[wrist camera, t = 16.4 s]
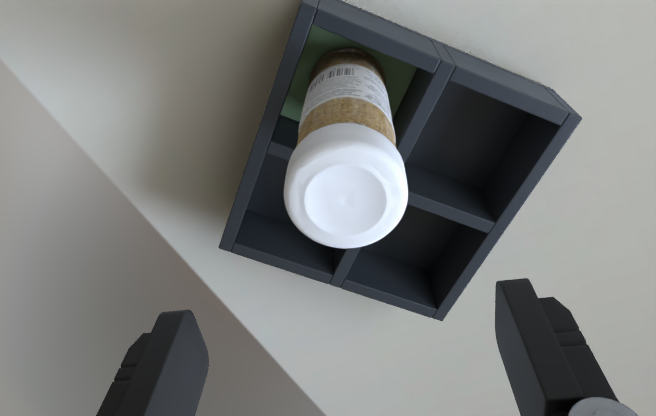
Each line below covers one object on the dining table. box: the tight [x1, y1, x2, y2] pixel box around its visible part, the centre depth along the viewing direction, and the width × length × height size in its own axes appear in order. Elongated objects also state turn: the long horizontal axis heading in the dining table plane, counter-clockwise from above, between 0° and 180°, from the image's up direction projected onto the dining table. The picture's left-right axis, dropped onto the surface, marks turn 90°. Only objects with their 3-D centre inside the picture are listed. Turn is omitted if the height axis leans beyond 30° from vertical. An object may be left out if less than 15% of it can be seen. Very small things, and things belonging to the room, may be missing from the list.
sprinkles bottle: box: [284, 47, 408, 249], centre depth 24 cm, size 5×5×13 cm
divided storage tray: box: [219, 0, 582, 321], centre depth 31 cm, size 15×15×5 cm
